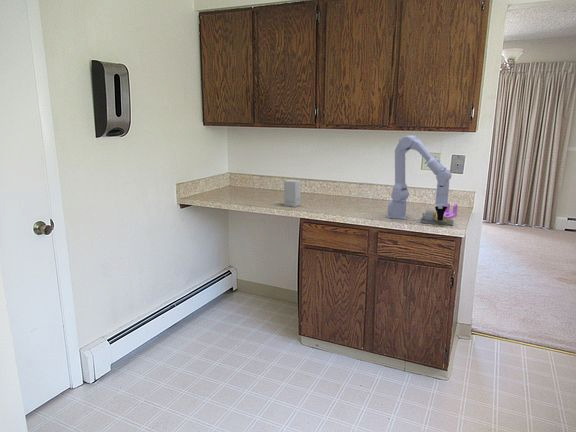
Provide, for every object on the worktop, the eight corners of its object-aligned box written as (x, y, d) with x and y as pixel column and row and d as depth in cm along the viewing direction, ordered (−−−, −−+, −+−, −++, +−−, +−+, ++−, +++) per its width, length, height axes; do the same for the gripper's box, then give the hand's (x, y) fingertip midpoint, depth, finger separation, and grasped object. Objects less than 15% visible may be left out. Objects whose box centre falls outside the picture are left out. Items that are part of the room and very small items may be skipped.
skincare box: (300, 205, 265) (301, 180, 262) (295, 207, 260) (295, 181, 256) (289, 204, 270) (289, 179, 266) (283, 205, 264) (283, 180, 261)
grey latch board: (420, 222, 225) (420, 215, 224) (422, 218, 236) (422, 211, 235) (453, 225, 219) (453, 218, 218) (453, 220, 230) (454, 213, 229)
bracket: (446, 214, 247) (447, 202, 245) (456, 215, 244) (457, 203, 242) (439, 218, 236) (440, 205, 235) (450, 219, 233) (451, 207, 232)
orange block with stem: (422, 218, 229) (422, 212, 228) (422, 216, 233) (423, 211, 233) (435, 219, 227) (436, 214, 226) (436, 217, 231) (436, 212, 230)
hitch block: (420, 221, 229) (421, 211, 228) (421, 218, 234) (422, 209, 233) (446, 223, 224) (446, 213, 223) (446, 220, 230) (447, 211, 229)
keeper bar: (434, 220, 225) (434, 217, 225) (435, 219, 226) (435, 216, 225) (451, 223, 219) (451, 219, 218) (452, 222, 219) (452, 219, 219)
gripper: (449, 196, 212) (447, 224, 215) (451, 192, 225) (449, 218, 228) (434, 195, 214) (432, 222, 217) (437, 191, 228) (434, 217, 230)
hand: (439, 220), depth 223 cm, fingers closed, pressing on keeper bar
